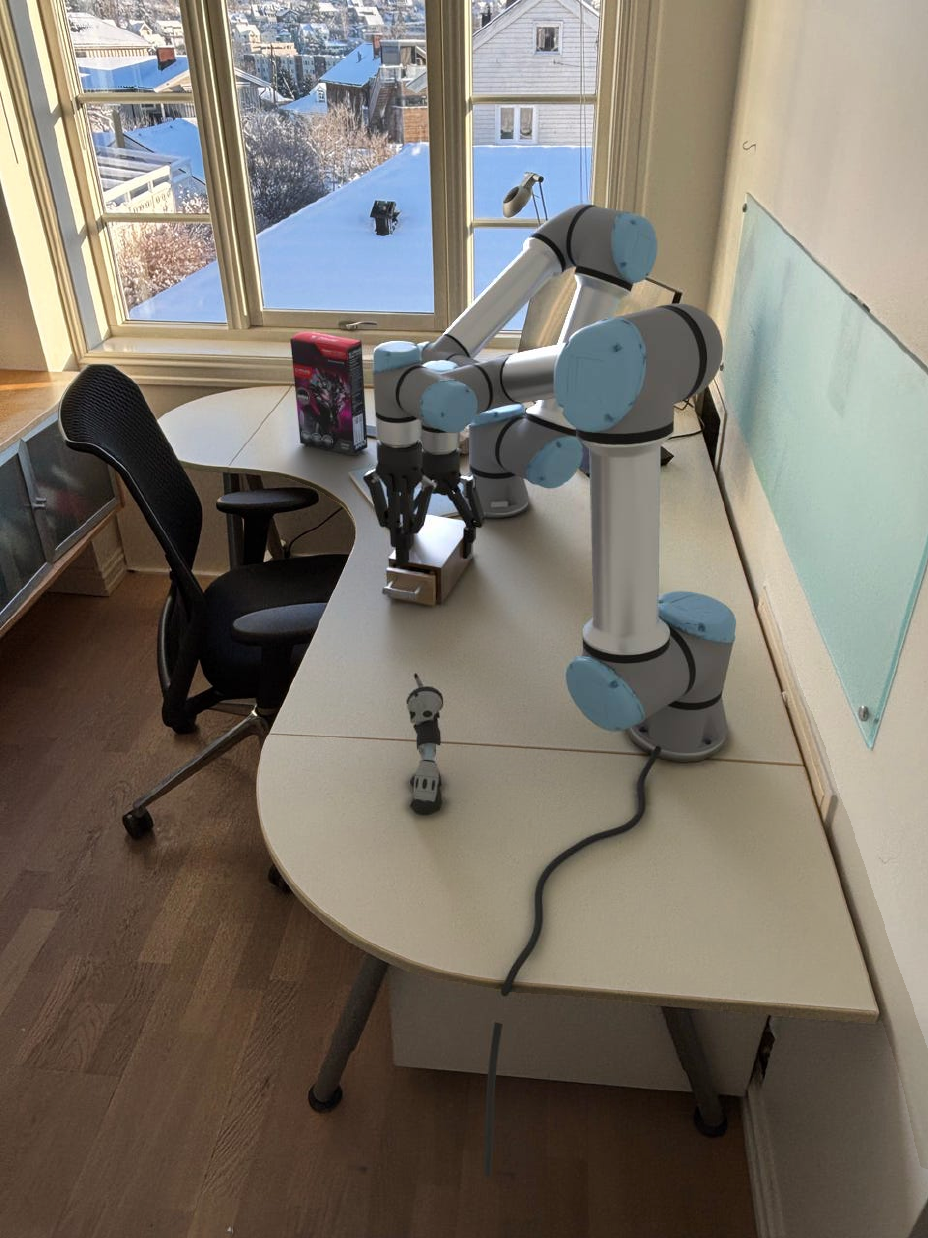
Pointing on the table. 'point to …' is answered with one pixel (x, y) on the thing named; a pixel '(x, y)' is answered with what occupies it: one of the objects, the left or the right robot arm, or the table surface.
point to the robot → (426, 746)
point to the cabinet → (439, 552)
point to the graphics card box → (329, 392)
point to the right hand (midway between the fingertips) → (402, 562)
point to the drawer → (411, 584)
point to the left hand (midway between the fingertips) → (440, 550)
